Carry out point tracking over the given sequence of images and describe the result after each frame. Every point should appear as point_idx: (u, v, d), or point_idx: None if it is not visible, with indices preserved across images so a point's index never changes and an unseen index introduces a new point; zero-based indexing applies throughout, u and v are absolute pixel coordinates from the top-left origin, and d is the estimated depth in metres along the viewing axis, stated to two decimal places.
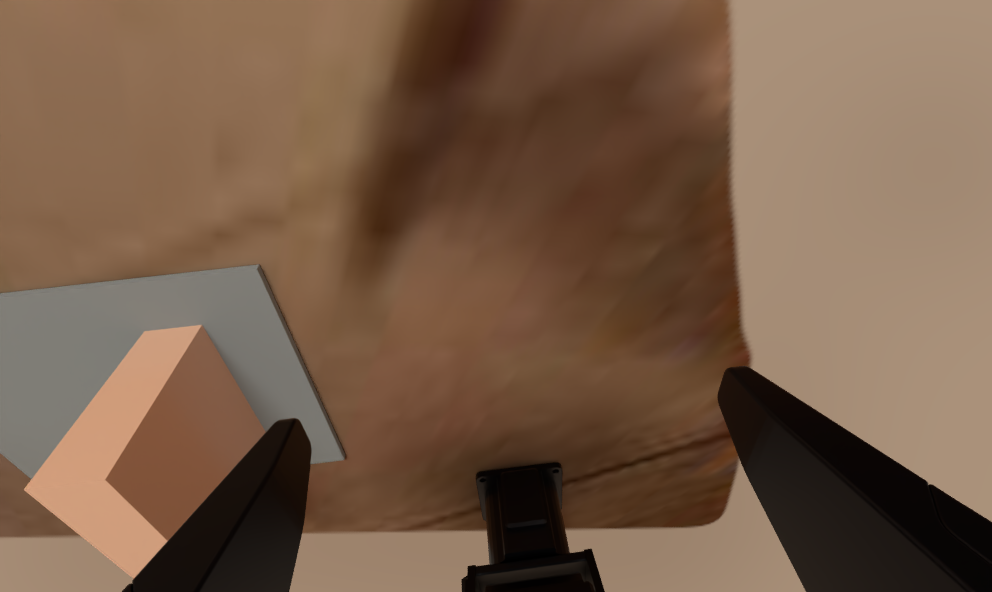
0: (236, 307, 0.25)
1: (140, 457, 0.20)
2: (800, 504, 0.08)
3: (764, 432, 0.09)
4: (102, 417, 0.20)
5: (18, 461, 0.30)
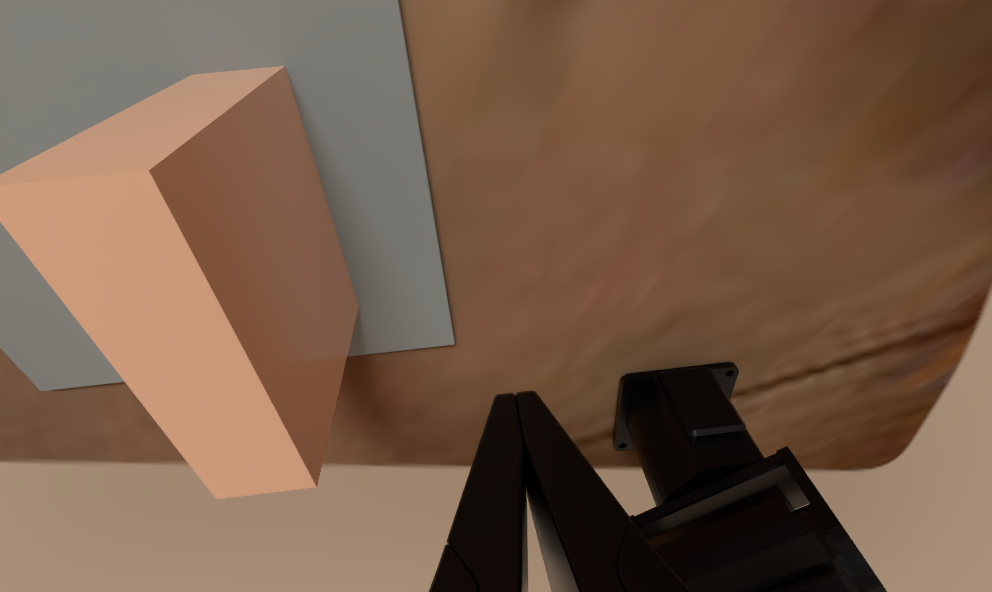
0: (343, 30, 0.15)
1: (208, 184, 0.10)
2: (545, 536, 0.08)
3: (526, 461, 0.09)
4: (134, 125, 0.11)
5: None
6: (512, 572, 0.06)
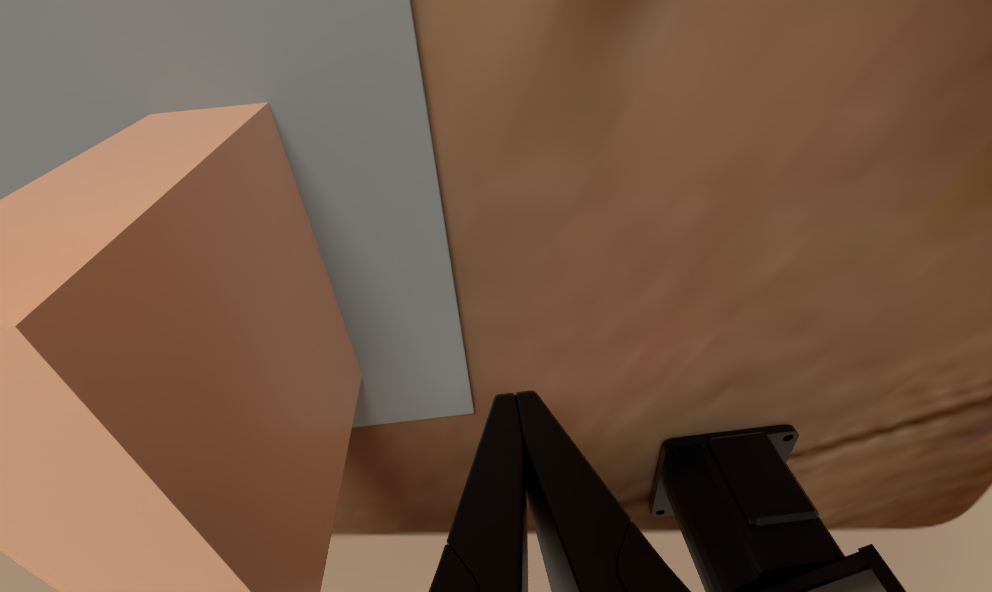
0: (342, 57, 0.12)
1: (141, 304, 0.07)
2: (545, 536, 0.08)
3: (526, 460, 0.09)
4: (40, 210, 0.08)
5: None
6: (512, 572, 0.06)
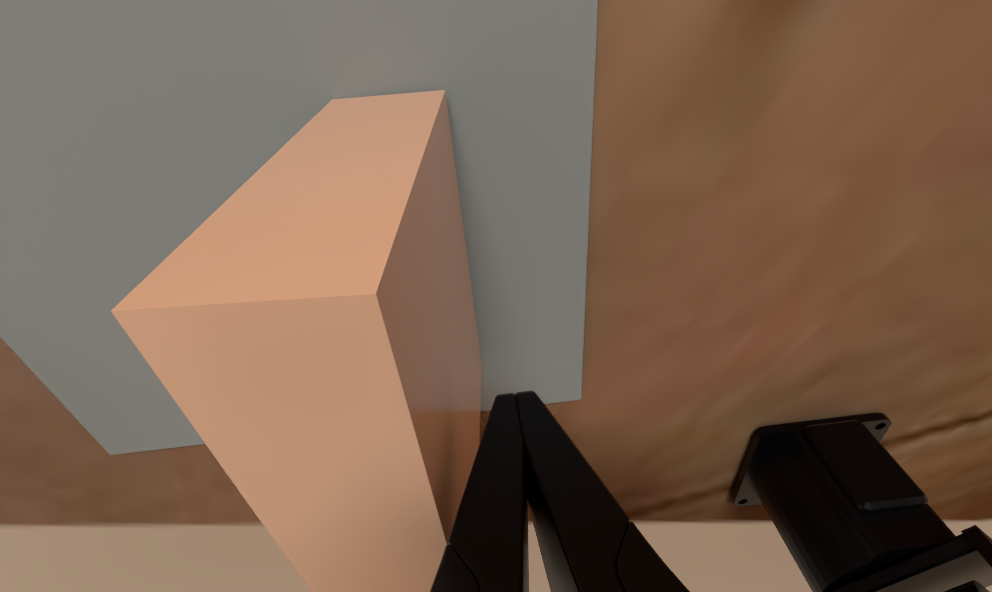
0: (524, 43, 0.12)
1: (413, 281, 0.07)
2: (544, 536, 0.08)
3: (525, 461, 0.09)
4: (301, 186, 0.08)
5: (62, 389, 0.18)
6: (513, 572, 0.06)
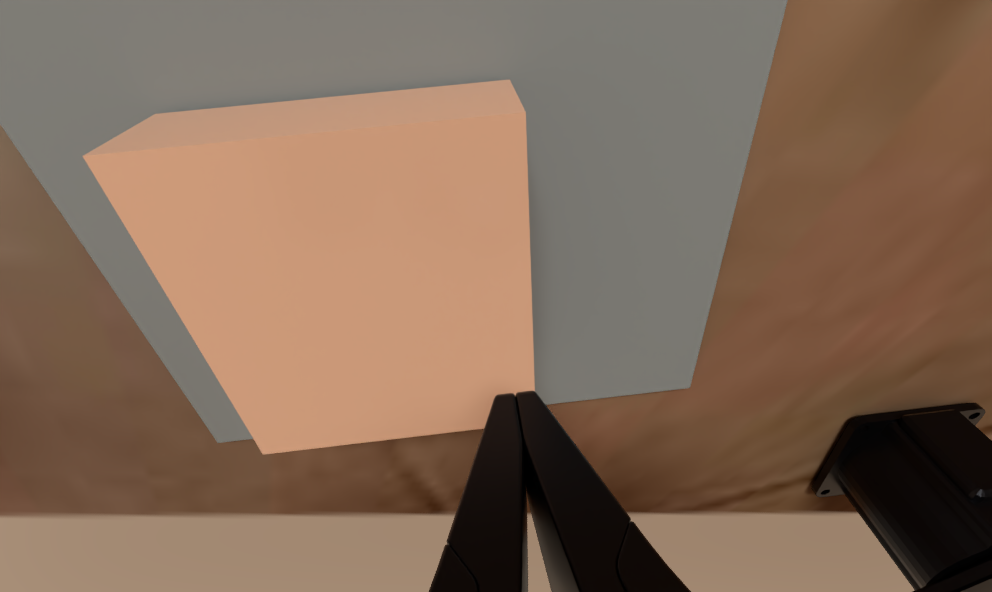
0: (711, 21, 0.12)
1: (186, 192, 0.10)
2: (545, 536, 0.08)
3: (526, 460, 0.09)
4: (270, 114, 0.11)
5: (184, 375, 0.17)
6: (512, 572, 0.06)
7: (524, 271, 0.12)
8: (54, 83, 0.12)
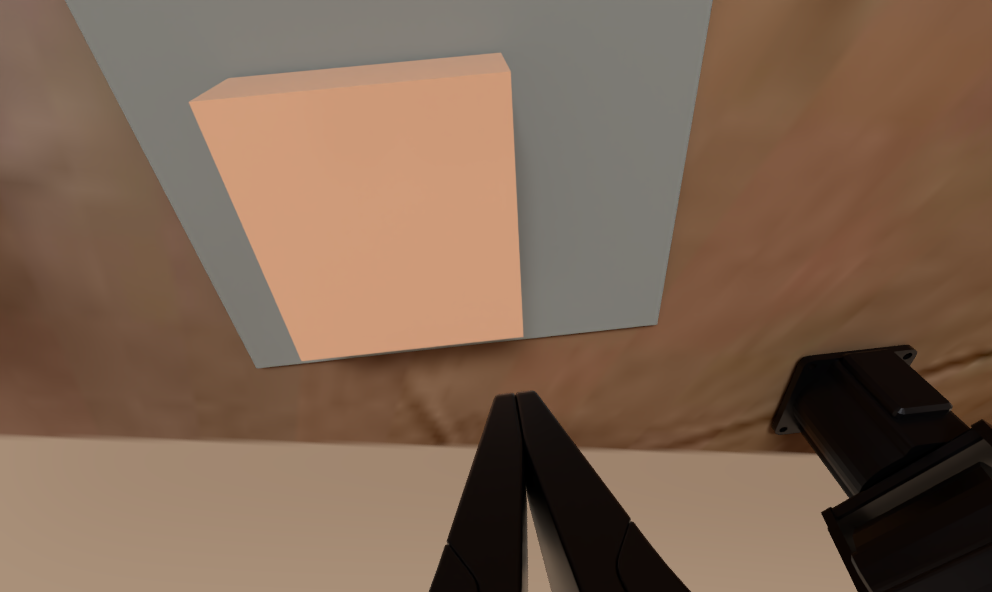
0: (656, 7, 0.16)
1: (260, 131, 0.14)
2: (545, 536, 0.08)
3: (526, 461, 0.09)
4: (319, 76, 0.15)
5: (233, 304, 0.21)
6: (512, 572, 0.06)
7: (511, 200, 0.16)
8: (153, 53, 0.15)
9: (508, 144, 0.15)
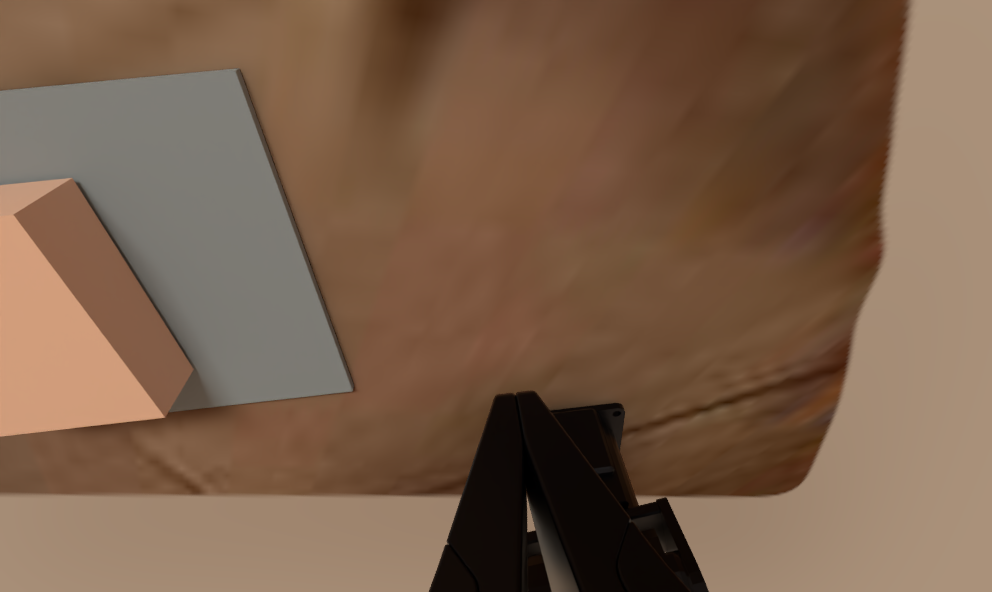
0: (207, 139, 0.17)
1: None
2: (545, 536, 0.08)
3: (526, 461, 0.09)
4: None
5: None
6: (512, 572, 0.06)
7: (81, 311, 0.18)
8: None
9: (48, 269, 0.16)
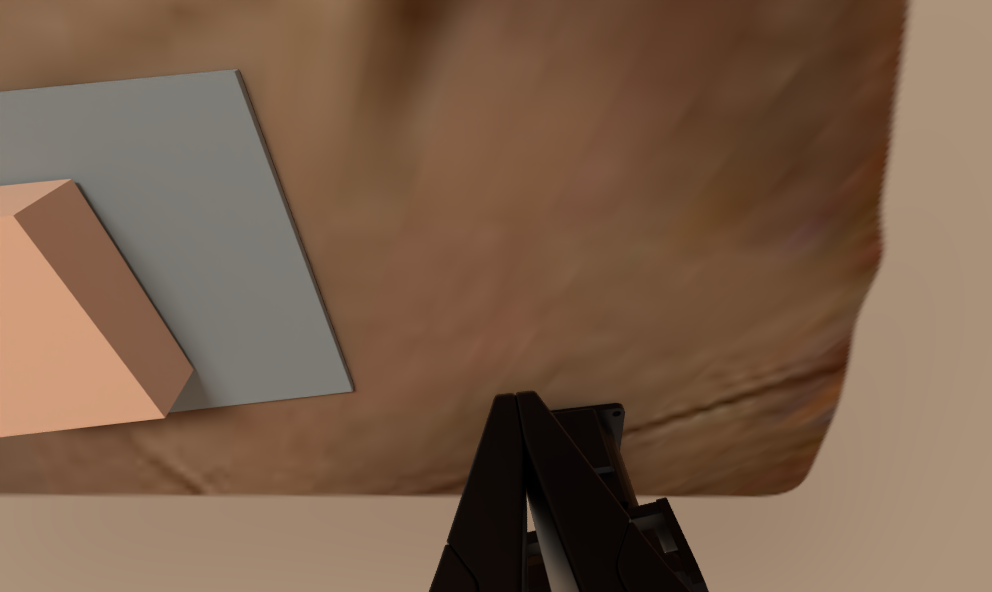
0: (206, 140, 0.17)
1: None
2: (545, 536, 0.08)
3: (526, 460, 0.09)
4: None
5: None
6: (512, 572, 0.06)
7: (81, 312, 0.18)
8: None
9: (47, 270, 0.16)
